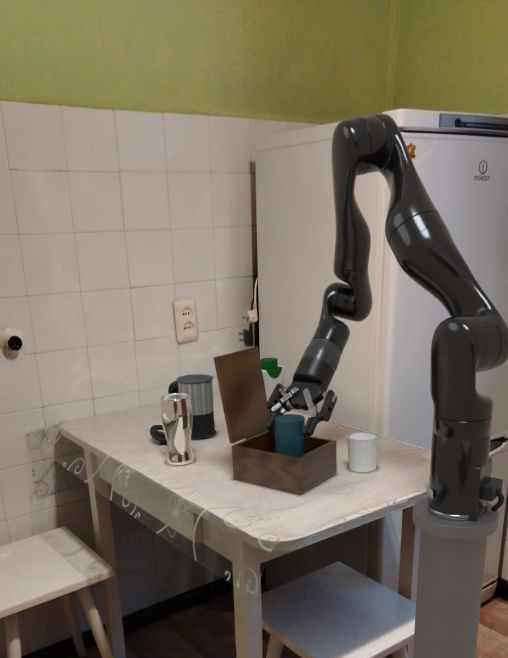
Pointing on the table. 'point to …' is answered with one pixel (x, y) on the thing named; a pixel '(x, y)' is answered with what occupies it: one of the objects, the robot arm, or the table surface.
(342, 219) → the robot arm
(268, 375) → the milk carton
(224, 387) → the bin lid
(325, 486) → the table surface
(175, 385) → the milk frother
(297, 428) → the can
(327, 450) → the bin
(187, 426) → the beer glass
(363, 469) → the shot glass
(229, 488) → the table surface
